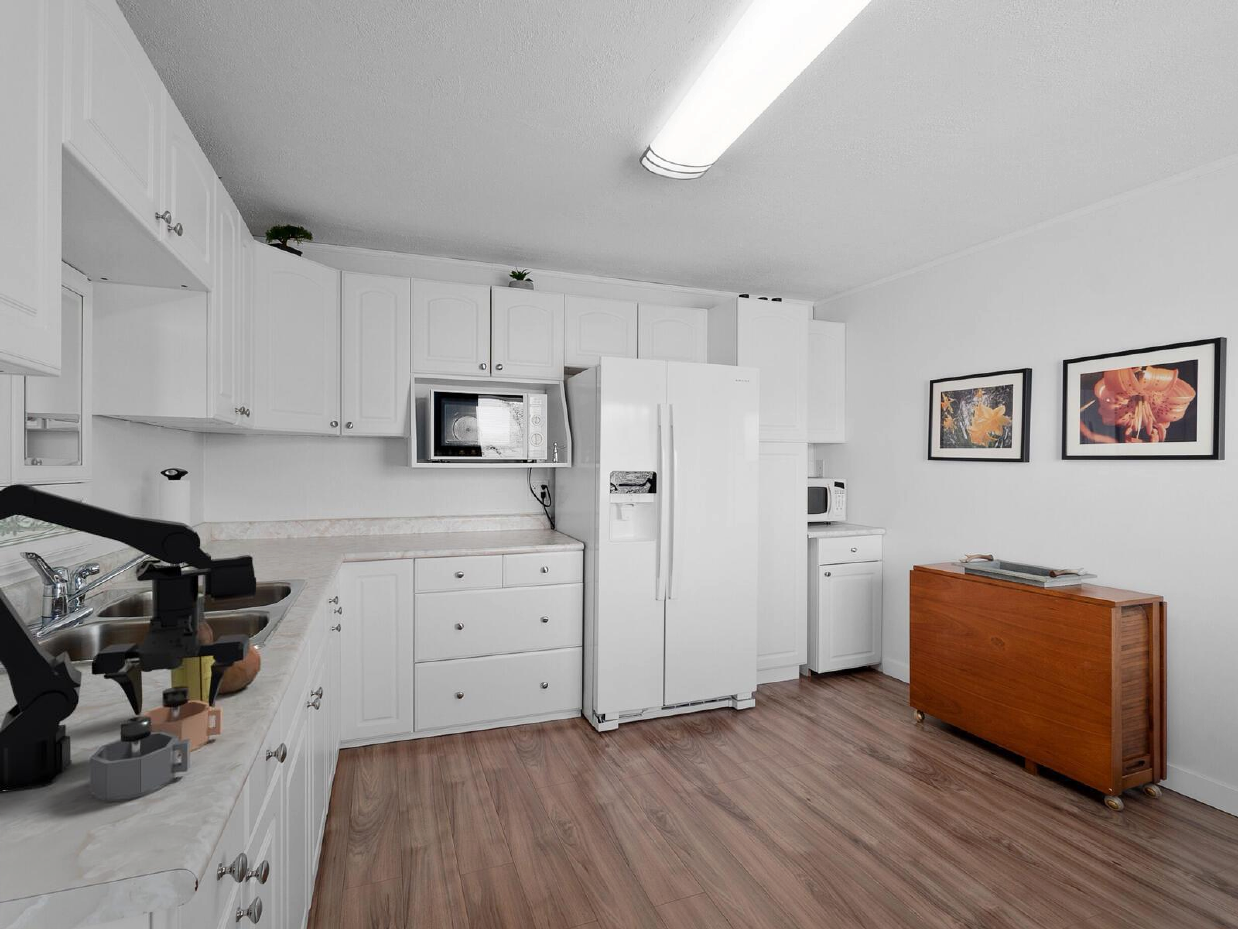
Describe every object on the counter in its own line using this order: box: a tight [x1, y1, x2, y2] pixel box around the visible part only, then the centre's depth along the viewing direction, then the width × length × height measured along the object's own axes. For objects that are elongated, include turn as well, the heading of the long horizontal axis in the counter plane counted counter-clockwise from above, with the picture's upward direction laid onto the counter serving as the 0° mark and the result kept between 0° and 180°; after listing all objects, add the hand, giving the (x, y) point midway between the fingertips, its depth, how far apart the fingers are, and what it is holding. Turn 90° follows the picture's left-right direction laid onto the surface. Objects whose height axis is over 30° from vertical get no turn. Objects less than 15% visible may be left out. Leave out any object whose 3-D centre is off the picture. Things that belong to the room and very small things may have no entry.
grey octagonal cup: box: [89, 731, 191, 803], centre depth 83 cm, size 10×9×5 cm
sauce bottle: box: [170, 593, 216, 708], centre depth 107 cm, size 7×6×20 cm
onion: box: [217, 644, 262, 694], centre depth 116 cm, size 10×9×10 cm
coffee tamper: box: [120, 716, 151, 758], centre depth 83 cm, size 6×6×8 cm
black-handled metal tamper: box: [161, 686, 189, 721], centre depth 94 cm, size 6×6×8 cm
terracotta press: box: [140, 700, 224, 757], centre depth 94 cm, size 10×9×5 cm
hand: (175, 710), depth 94 cm, fingers open, 9 cm apart
